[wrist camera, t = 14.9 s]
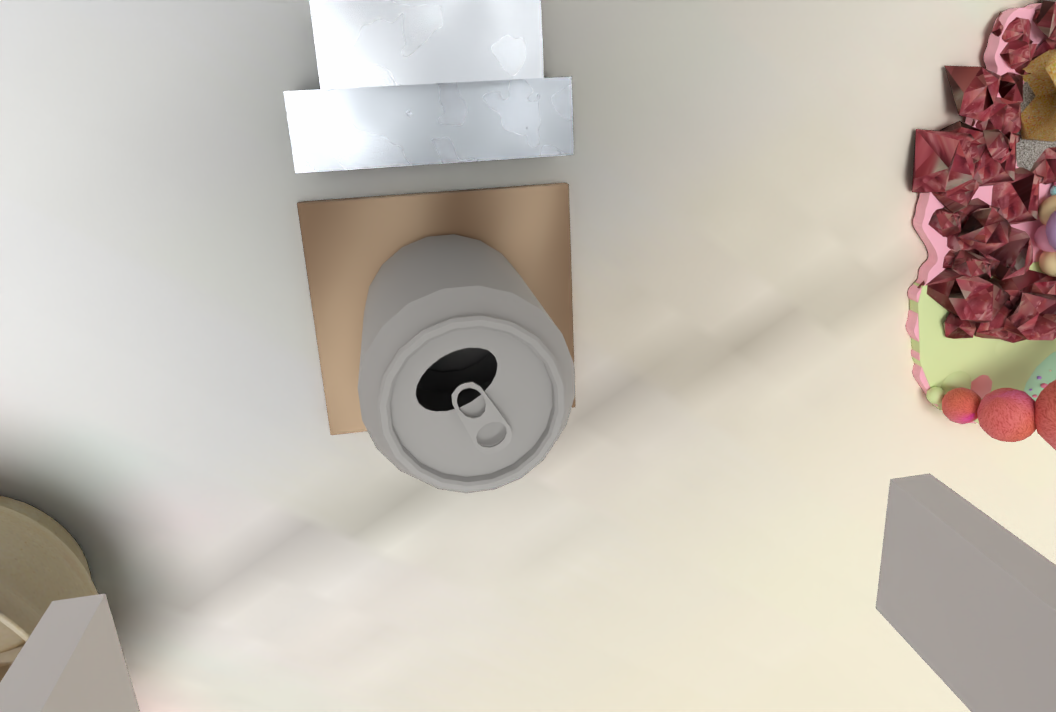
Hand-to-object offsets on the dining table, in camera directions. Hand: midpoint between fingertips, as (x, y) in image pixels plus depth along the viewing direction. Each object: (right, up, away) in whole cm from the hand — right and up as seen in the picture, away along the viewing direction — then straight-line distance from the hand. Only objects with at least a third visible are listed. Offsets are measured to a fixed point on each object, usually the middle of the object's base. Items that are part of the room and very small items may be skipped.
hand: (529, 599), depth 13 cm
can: (-4, +6, +23) cm, 24 cm away
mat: (-4, +6, +24) cm, 25 cm away
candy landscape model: (+31, +12, +29) cm, 44 cm away
